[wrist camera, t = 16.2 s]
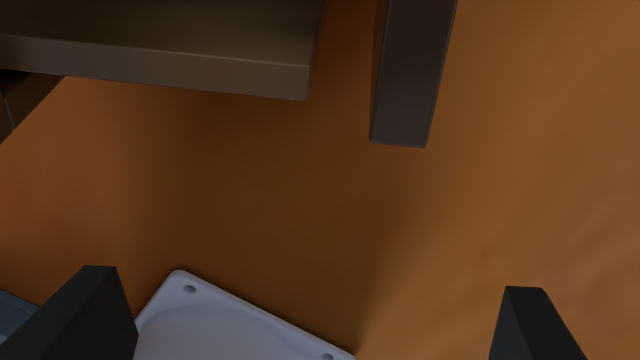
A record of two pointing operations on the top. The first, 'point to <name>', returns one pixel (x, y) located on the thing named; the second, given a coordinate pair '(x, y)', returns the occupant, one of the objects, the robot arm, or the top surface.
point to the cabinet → (21, 96)
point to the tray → (13, 313)
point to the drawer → (235, 49)
